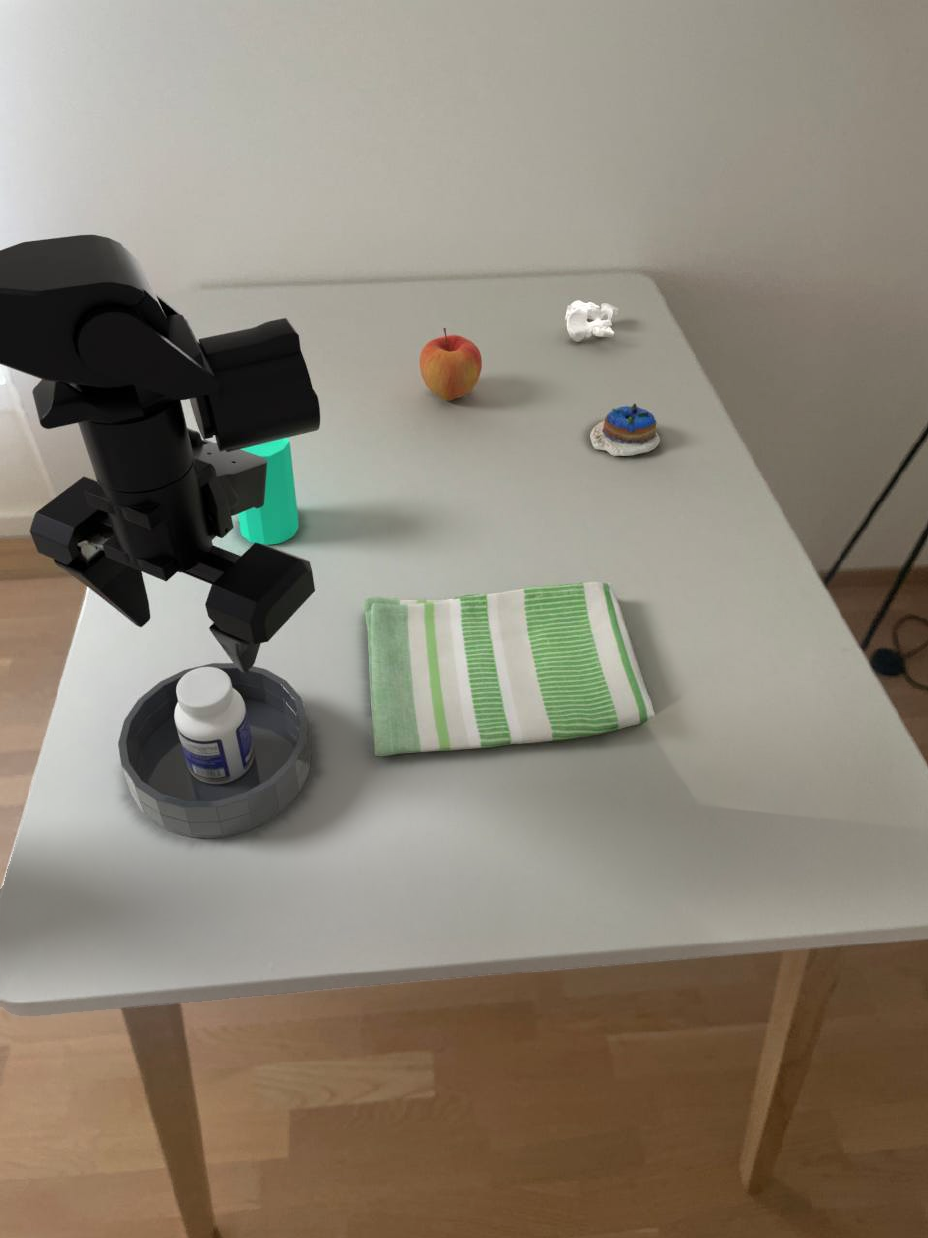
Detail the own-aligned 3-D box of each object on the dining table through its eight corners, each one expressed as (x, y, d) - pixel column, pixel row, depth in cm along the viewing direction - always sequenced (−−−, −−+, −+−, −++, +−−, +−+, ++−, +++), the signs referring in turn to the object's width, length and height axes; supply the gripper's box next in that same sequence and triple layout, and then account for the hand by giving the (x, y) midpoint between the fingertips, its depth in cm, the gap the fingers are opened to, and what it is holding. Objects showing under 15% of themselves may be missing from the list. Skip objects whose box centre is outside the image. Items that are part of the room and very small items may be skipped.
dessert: (660, 417, 115) (664, 397, 109) (657, 470, 114) (660, 453, 108) (592, 414, 116) (592, 393, 110) (588, 467, 115) (588, 449, 109)
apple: (444, 417, 115) (446, 356, 109) (407, 390, 119) (407, 330, 113) (492, 398, 118) (496, 337, 112) (454, 372, 122) (456, 312, 116)
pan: (142, 861, 72) (131, 830, 69) (119, 718, 81) (109, 686, 78) (330, 808, 75) (327, 777, 73) (288, 678, 85) (284, 646, 82)
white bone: (616, 323, 125) (565, 312, 125) (609, 353, 128) (559, 342, 128) (622, 294, 130) (573, 284, 130) (614, 323, 133) (567, 313, 134)
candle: (294, 546, 97) (283, 445, 89) (234, 544, 97) (217, 442, 89) (302, 508, 101) (292, 409, 93) (245, 506, 101) (229, 406, 93)
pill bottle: (229, 723, 81) (214, 648, 74) (268, 760, 78) (255, 687, 72) (174, 758, 78) (153, 684, 72) (211, 798, 75) (193, 725, 69)
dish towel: (363, 609, 91) (362, 587, 89) (607, 593, 94) (611, 572, 92) (375, 762, 79) (374, 741, 77) (656, 739, 81) (662, 718, 79)
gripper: (352, 437, 60) (368, 617, 71) (117, 360, 66) (166, 537, 77) (240, 543, 53) (278, 724, 64) (-11, 446, 59) (63, 627, 70)
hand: (194, 644), depth 69 cm, fingers open, 9 cm apart
